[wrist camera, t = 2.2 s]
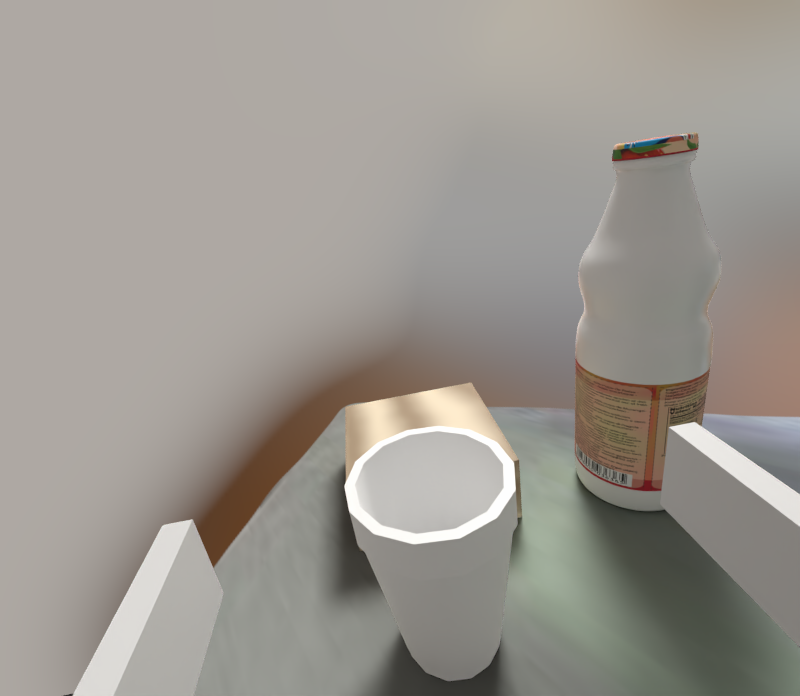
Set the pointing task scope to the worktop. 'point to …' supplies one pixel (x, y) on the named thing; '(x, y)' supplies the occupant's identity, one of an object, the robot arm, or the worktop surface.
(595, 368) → the fruit juice
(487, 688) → the worktop surface
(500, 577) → the foam cup
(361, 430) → the maple block
